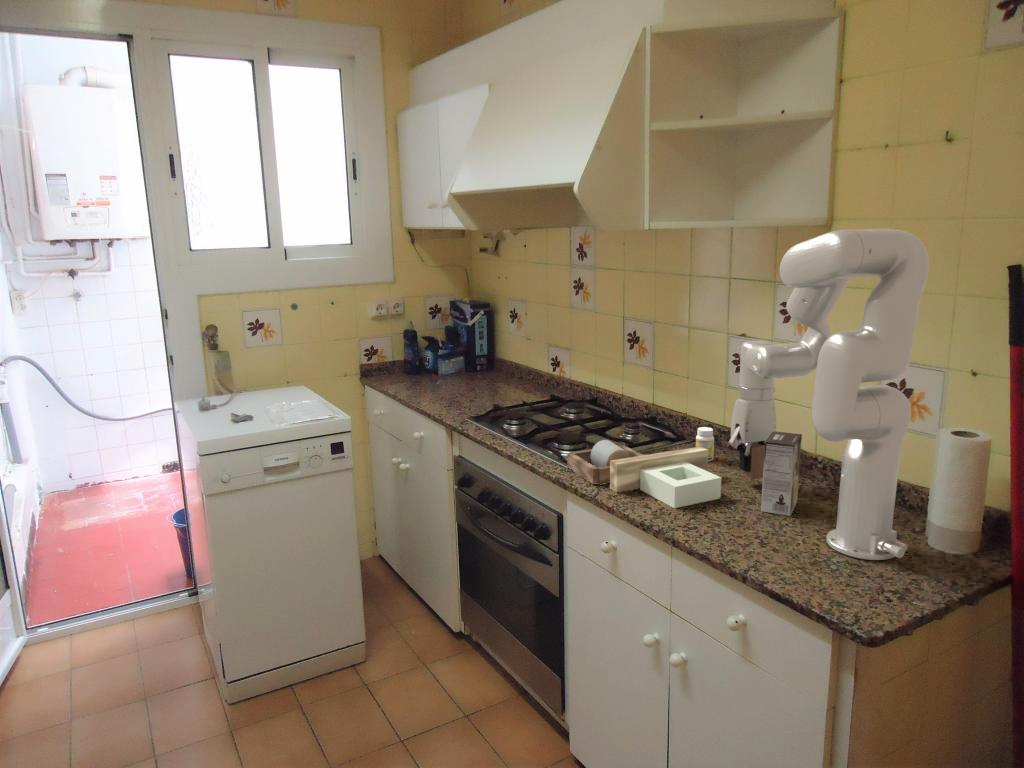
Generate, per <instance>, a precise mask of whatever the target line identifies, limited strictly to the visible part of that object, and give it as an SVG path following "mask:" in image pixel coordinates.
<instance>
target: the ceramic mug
mask: <svg viewBox="0 0 1024 768" xmlns="http://www.w3.org/2000/svg"><path fill="white" fill-rule="evenodd" d="M619 446H620V445H618V446H617V444H616V443H614V442H612V441H611V440H608V439H602V440H599V441H598V442H596V443H595V444H594V445H593V446H592V448H591V449H592V451H591V462H592V464H593V466H595V467H597V468H598V467H604V466H610V461H611V460H618V459H624V458H629V455H628V454H627V452H626V451H625V450H623V449H622V448H620V447H619Z"/></svg>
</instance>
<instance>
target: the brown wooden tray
mask: <svg viewBox="0 0 1024 768" xmlns="http://www.w3.org/2000/svg"><path fill="white" fill-rule="evenodd" d="M616 445H617V444H616ZM617 446H619V447H620V448H622V449H623V450H625V451H626V452H627V454H628V455H629V458H630V457H637V456H643V455H644V454H642V453H640V452H638V451H636V450H634V449H632V448H630V447H628V446H627V445H624V444H623V445H617ZM592 449H593V448H591V449H584V450H577V451H572V452H570V453H567V455H566V456H567V458H566V459H567V460H566V461H567V462H566V463H567V464H566V466H569V467H570V468H571V469H572V470H573V471H575V472H577V473H578V474H579V475H581V476H582V477H584V478H585V479H587V480H588V481H590V482H591V483H593V484H594V483H599V484H603V483H610V466H604V467H598V468H597V467H595V466H594V465H592V464H590V463H592V462H591V451H592ZM588 462H589V463H588ZM599 484H598V485H599Z"/></svg>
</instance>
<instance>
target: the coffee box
mask: <svg viewBox="0 0 1024 768" xmlns="http://www.w3.org/2000/svg"><path fill="white" fill-rule="evenodd" d="M802 437H803V434H802V433H793V432H792V433H791V432H783V431H776V432H775V431H773V432H772V433H771V434H770V436H769V437H768V439H767V440H766V441H765V453H764V470H763V478H762V486H761V490H762V491H761V504H760V506H761V507H760V511H761V512H764V513H771V514H776V515H781V516H789V517H791V516H792V513H793V511H794V510H795V508H796V505H797V502H798V495H799V494H798V493H799V480H800V466H801V465H800V464H801V451H802V440H803V439H802Z"/></svg>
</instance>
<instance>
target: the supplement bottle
mask: <svg viewBox="0 0 1024 768" xmlns="http://www.w3.org/2000/svg"><path fill="white" fill-rule="evenodd" d="M696 432H697V433H696V434H697V435H696V437H695V447H703V448H705V449H708V462H711V461H713V460H714V456H715V455H714V452H715V450H714V449H715V437H714V429H713V428H712V427H710V426H709V427H708V426H701V427H697V431H696Z"/></svg>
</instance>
